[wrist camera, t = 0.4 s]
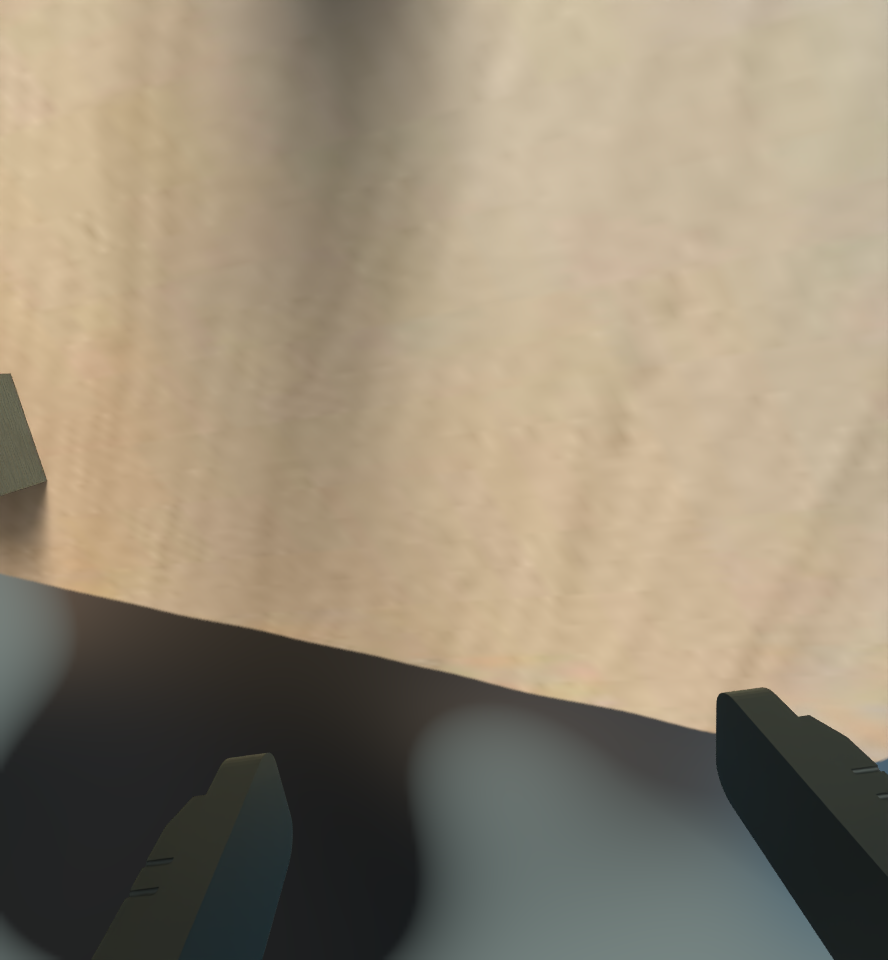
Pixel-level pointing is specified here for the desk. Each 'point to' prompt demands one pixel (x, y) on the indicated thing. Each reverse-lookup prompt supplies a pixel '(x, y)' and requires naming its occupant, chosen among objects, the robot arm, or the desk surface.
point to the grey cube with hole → (16, 443)
